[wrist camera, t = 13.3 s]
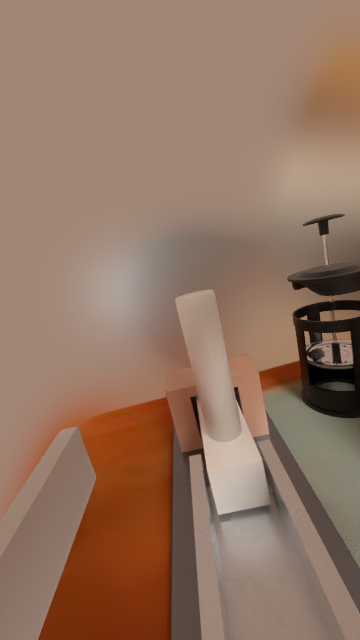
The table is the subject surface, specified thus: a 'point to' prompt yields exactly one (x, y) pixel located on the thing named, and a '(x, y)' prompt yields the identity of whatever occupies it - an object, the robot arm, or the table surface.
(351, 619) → the slotted sleeve
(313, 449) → the table surface
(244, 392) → the socket block
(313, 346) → the french press
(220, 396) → the bar
